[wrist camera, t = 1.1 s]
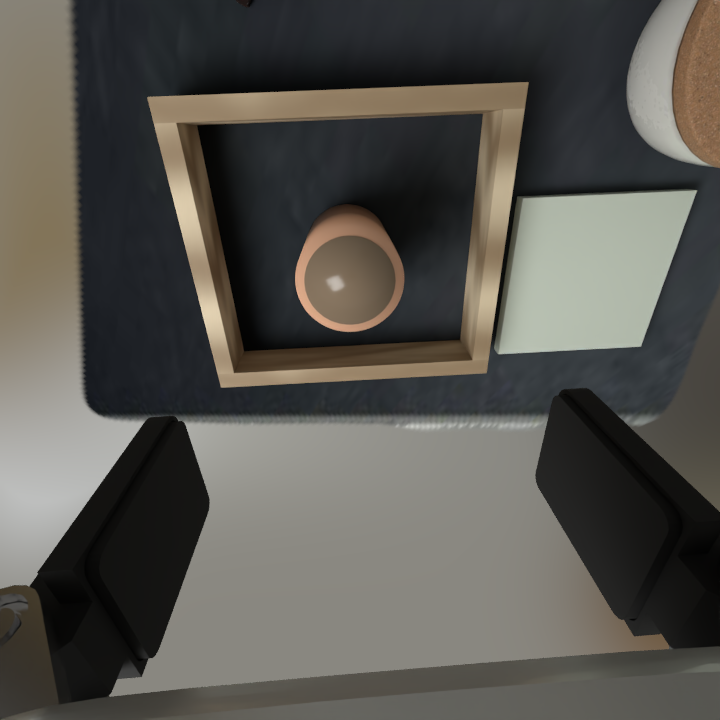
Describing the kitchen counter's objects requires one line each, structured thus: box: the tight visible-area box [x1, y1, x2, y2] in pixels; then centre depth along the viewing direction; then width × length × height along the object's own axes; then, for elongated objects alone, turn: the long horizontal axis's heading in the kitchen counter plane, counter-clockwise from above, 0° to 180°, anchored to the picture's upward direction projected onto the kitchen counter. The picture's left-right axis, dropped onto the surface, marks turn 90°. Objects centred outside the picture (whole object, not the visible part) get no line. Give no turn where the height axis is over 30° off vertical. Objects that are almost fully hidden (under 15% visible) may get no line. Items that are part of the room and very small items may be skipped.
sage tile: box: [494, 189, 697, 354], centre depth 30 cm, size 12×12×1 cm
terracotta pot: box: [295, 204, 404, 332], centre depth 25 cm, size 6×6×8 cm
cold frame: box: [147, 82, 529, 388], centre depth 27 cm, size 18×20×4 cm
